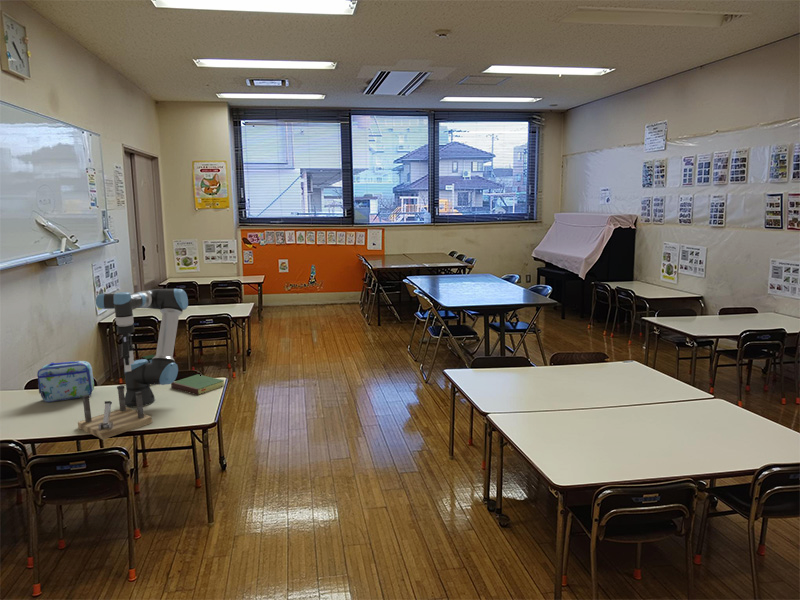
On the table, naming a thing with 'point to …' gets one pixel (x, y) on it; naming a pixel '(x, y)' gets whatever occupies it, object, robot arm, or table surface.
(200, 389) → the hardcover book
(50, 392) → the lunch box
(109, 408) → the hinged leg
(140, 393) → the stool top
